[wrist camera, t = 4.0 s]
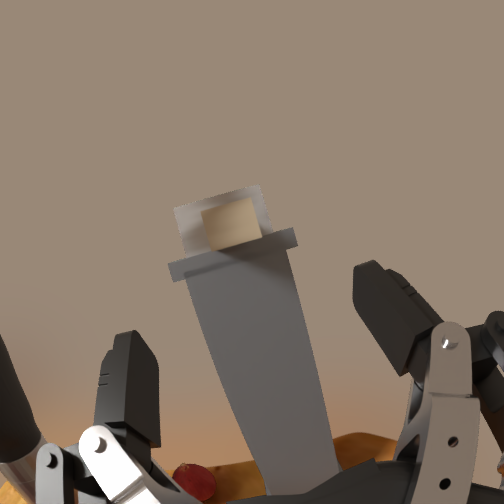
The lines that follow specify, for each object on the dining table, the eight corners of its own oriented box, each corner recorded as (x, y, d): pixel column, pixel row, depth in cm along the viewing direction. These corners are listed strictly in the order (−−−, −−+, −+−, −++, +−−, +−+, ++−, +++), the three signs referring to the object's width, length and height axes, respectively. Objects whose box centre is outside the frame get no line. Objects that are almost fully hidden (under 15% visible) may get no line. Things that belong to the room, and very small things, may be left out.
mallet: (166, 265, 13) (146, 186, 13) (192, 255, 27) (181, 215, 26) (305, 224, 14) (282, 149, 14) (263, 235, 27) (252, 195, 27)
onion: (181, 510, 24) (154, 478, 24) (189, 484, 30) (167, 451, 30) (221, 511, 24) (197, 478, 24) (226, 483, 30) (206, 449, 29)
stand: (271, 512, 23) (167, 263, 21) (266, 482, 29) (180, 259, 27) (350, 488, 23) (292, 227, 22) (336, 461, 29) (279, 230, 28)
